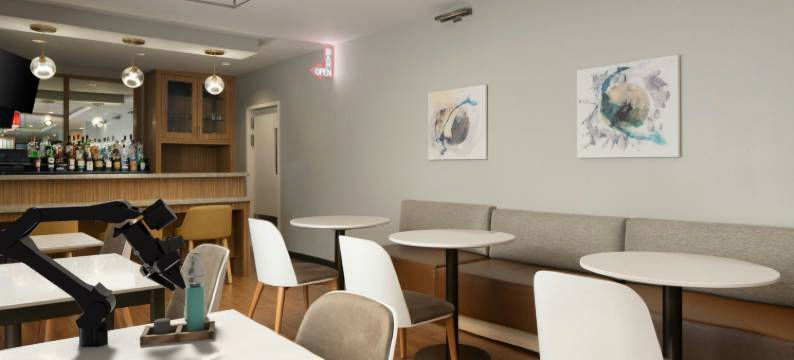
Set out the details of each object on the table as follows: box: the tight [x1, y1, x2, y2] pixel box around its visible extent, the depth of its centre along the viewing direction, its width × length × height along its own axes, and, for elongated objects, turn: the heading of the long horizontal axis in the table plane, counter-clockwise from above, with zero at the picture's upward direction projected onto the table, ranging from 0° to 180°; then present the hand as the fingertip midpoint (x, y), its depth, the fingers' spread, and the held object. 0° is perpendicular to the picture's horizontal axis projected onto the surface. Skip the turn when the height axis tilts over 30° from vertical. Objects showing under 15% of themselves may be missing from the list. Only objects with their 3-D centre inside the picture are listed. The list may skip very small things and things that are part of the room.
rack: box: [139, 320, 216, 346], centre depth 148 cm, size 18×9×3 cm, turn 106°
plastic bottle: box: [182, 252, 208, 321], centre depth 164 cm, size 6×7×20 cm
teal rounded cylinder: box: [185, 282, 205, 332], centre depth 148 cm, size 4×4×14 cm
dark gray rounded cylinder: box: [153, 317, 171, 335], centre depth 146 cm, size 4×4×4 cm
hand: (179, 289), depth 147 cm, fingers open, 9 cm apart
